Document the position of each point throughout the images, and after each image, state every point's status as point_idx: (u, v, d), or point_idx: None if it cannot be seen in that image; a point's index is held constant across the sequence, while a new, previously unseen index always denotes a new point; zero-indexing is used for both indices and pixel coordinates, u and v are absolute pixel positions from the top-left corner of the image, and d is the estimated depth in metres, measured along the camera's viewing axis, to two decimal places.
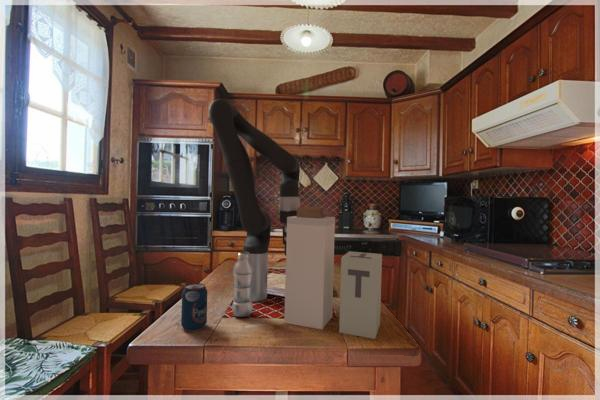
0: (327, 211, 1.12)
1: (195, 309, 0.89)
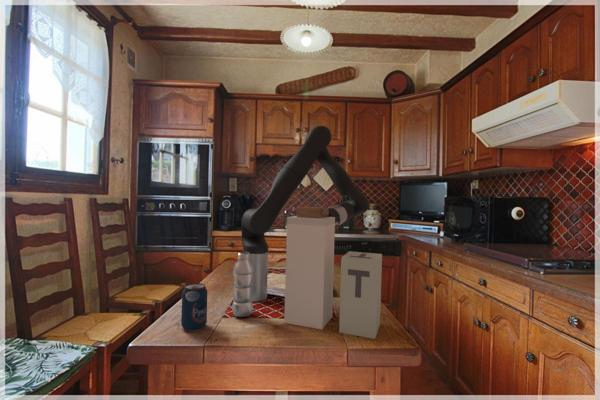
0: (327, 211, 1.12)
1: (195, 309, 0.89)
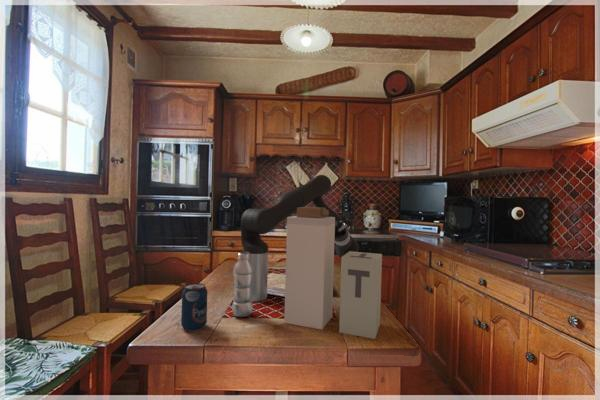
0: (327, 211, 1.12)
1: (195, 309, 0.89)
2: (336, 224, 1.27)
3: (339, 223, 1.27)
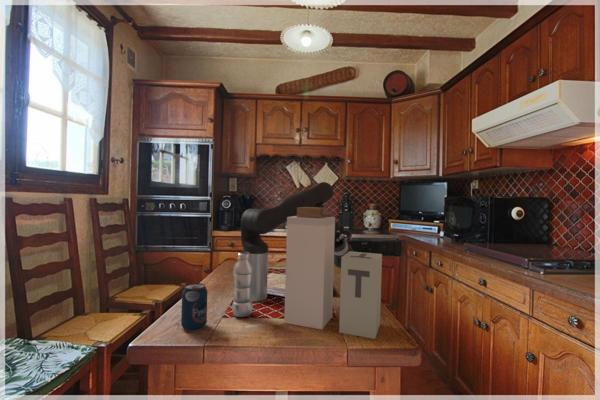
0: (327, 211, 1.12)
1: (195, 309, 0.89)
2: None
3: (337, 233, 1.24)
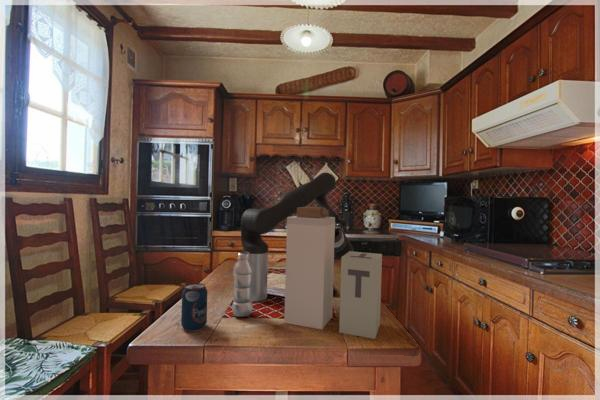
0: (327, 211, 1.12)
1: (195, 309, 0.89)
2: None
3: None
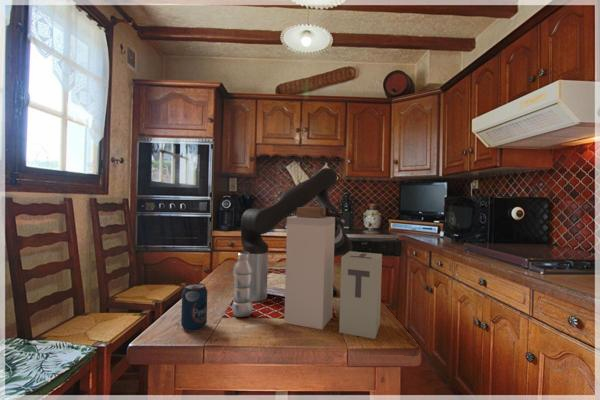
0: None
1: (195, 309, 0.89)
2: None
3: None
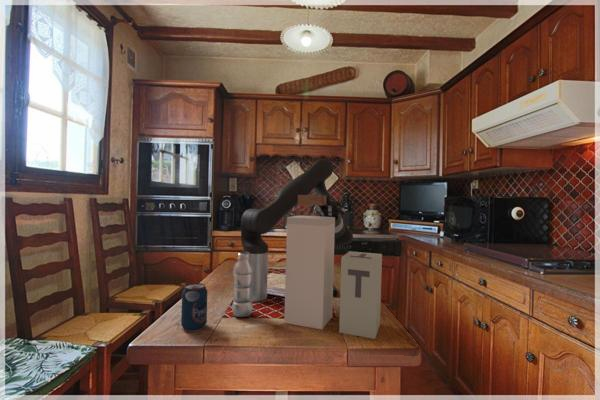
0: None
1: (195, 309, 0.89)
2: (327, 208, 1.14)
3: (327, 207, 1.15)
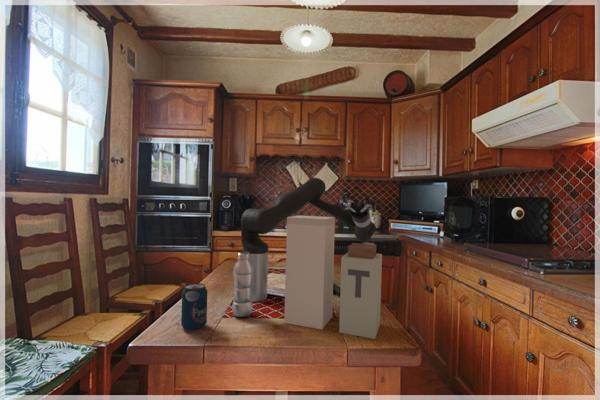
0: (373, 245, 1.07)
1: (195, 309, 0.89)
2: (359, 205, 1.31)
3: (362, 204, 1.30)
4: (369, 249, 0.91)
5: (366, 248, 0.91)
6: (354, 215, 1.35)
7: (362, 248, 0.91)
